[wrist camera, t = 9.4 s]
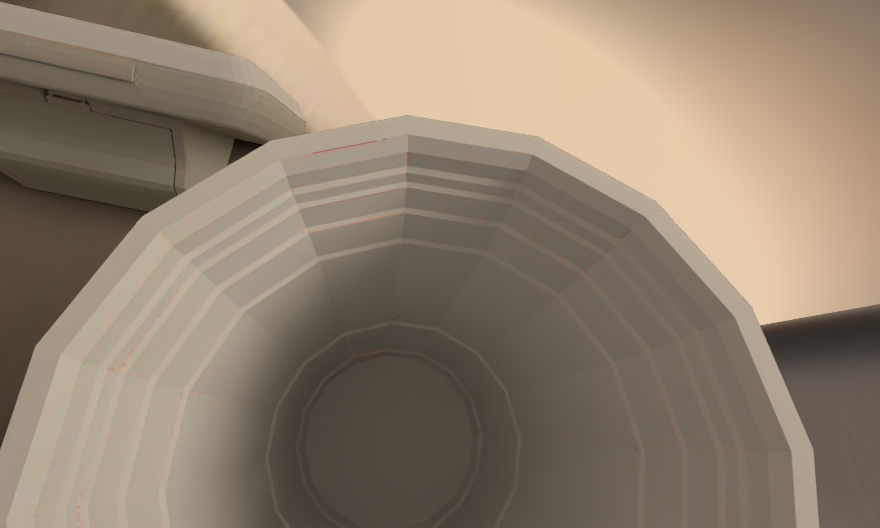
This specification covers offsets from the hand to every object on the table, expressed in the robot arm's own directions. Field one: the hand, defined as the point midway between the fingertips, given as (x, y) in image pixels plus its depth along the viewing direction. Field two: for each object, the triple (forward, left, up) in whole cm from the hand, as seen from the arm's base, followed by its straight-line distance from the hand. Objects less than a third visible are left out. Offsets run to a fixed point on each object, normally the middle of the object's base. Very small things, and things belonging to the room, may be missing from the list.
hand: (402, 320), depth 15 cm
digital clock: (+14, -8, -14) cm, 22 cm away
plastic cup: (-1, +3, -5) cm, 6 cm away
